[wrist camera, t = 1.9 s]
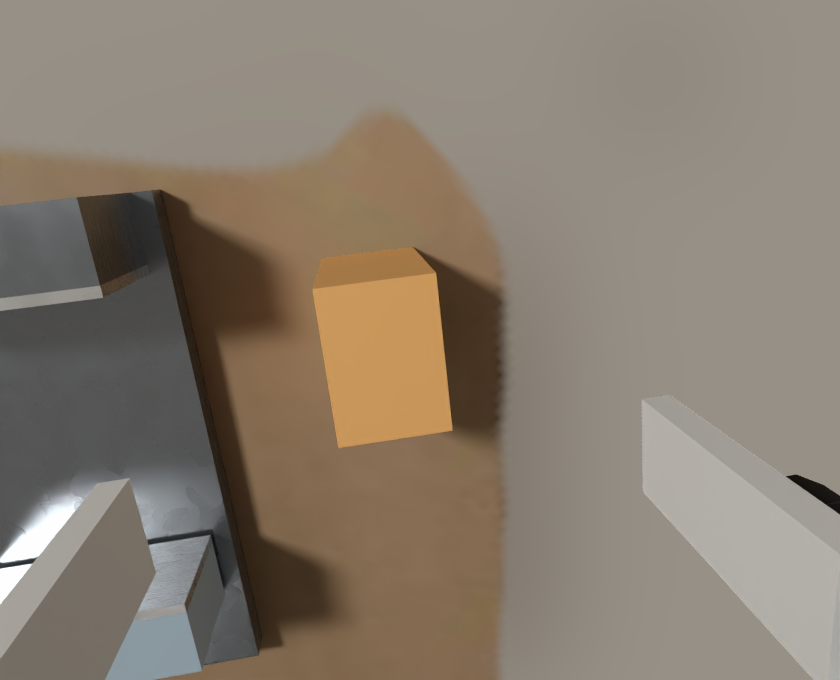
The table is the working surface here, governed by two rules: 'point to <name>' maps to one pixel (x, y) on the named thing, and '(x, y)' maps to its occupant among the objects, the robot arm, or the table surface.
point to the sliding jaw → (165, 612)
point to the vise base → (108, 389)
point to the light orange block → (382, 346)
